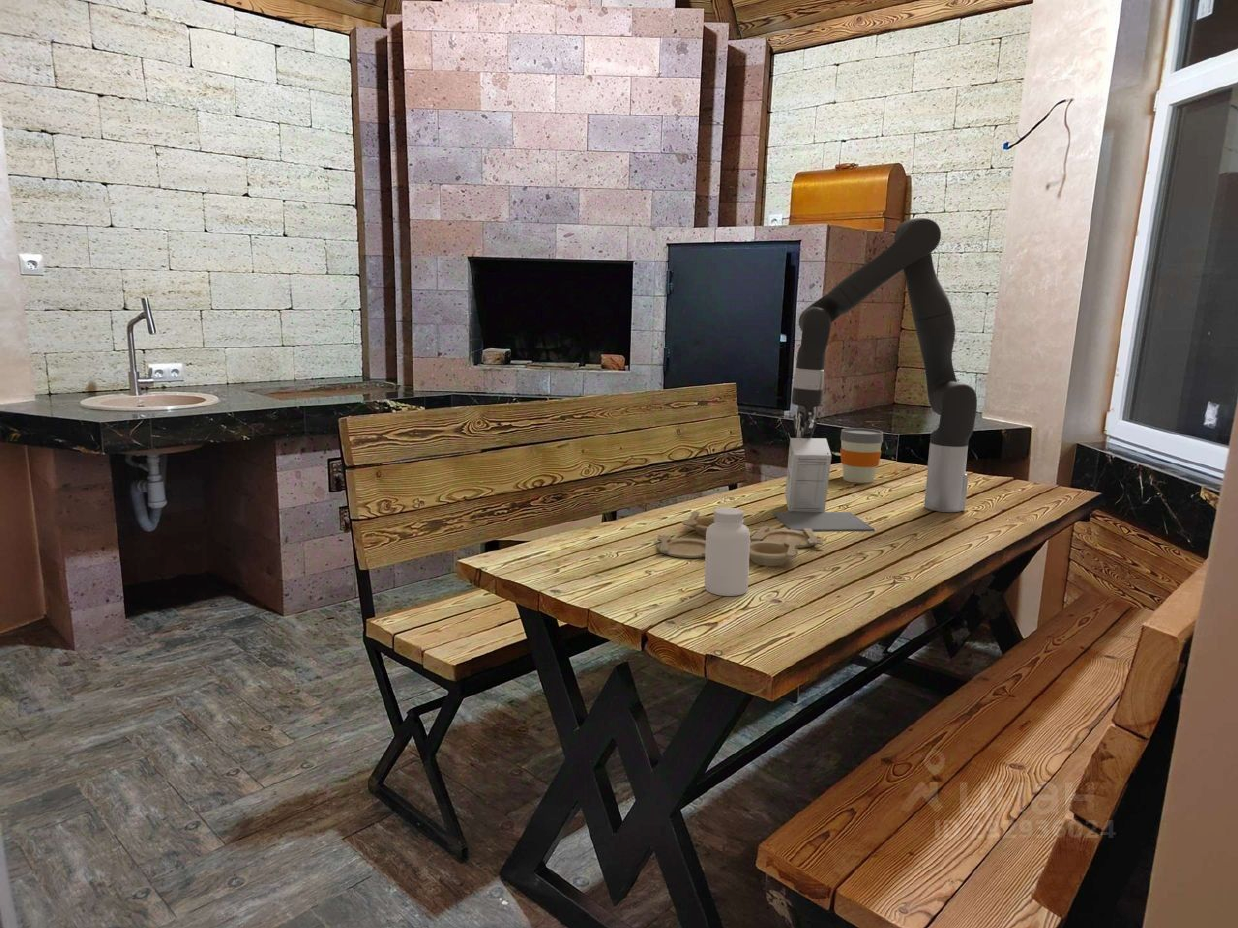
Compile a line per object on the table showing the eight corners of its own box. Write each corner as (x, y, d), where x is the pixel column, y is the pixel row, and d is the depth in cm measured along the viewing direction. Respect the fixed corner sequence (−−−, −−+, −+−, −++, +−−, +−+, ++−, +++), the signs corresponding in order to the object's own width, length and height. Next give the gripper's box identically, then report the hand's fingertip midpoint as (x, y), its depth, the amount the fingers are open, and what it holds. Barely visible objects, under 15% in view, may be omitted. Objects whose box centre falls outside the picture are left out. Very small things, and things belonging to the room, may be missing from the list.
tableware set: (827, 538, 186) (828, 521, 185) (813, 577, 159) (814, 557, 158) (678, 522, 197) (679, 506, 197) (642, 556, 170) (642, 537, 169)
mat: (849, 513, 208) (849, 512, 208) (874, 530, 192) (874, 529, 192) (772, 513, 206) (772, 512, 206) (791, 531, 190) (791, 529, 190)
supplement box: (820, 493, 216) (827, 437, 207) (825, 513, 208) (833, 455, 199) (783, 492, 216) (789, 436, 208) (787, 511, 208) (793, 454, 200)
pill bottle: (700, 582, 154) (703, 505, 151) (742, 582, 154) (746, 505, 151) (708, 597, 146) (711, 516, 143) (752, 597, 146) (756, 516, 144)
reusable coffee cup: (853, 473, 258) (856, 426, 255) (888, 480, 249) (892, 432, 246) (828, 478, 250) (832, 430, 247) (864, 485, 241) (868, 435, 238)
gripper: (830, 390, 202) (823, 458, 205) (814, 384, 215) (808, 449, 218) (801, 388, 202) (794, 457, 205) (786, 383, 214) (780, 448, 218)
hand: (801, 453), depth 212 cm, fingers closed
